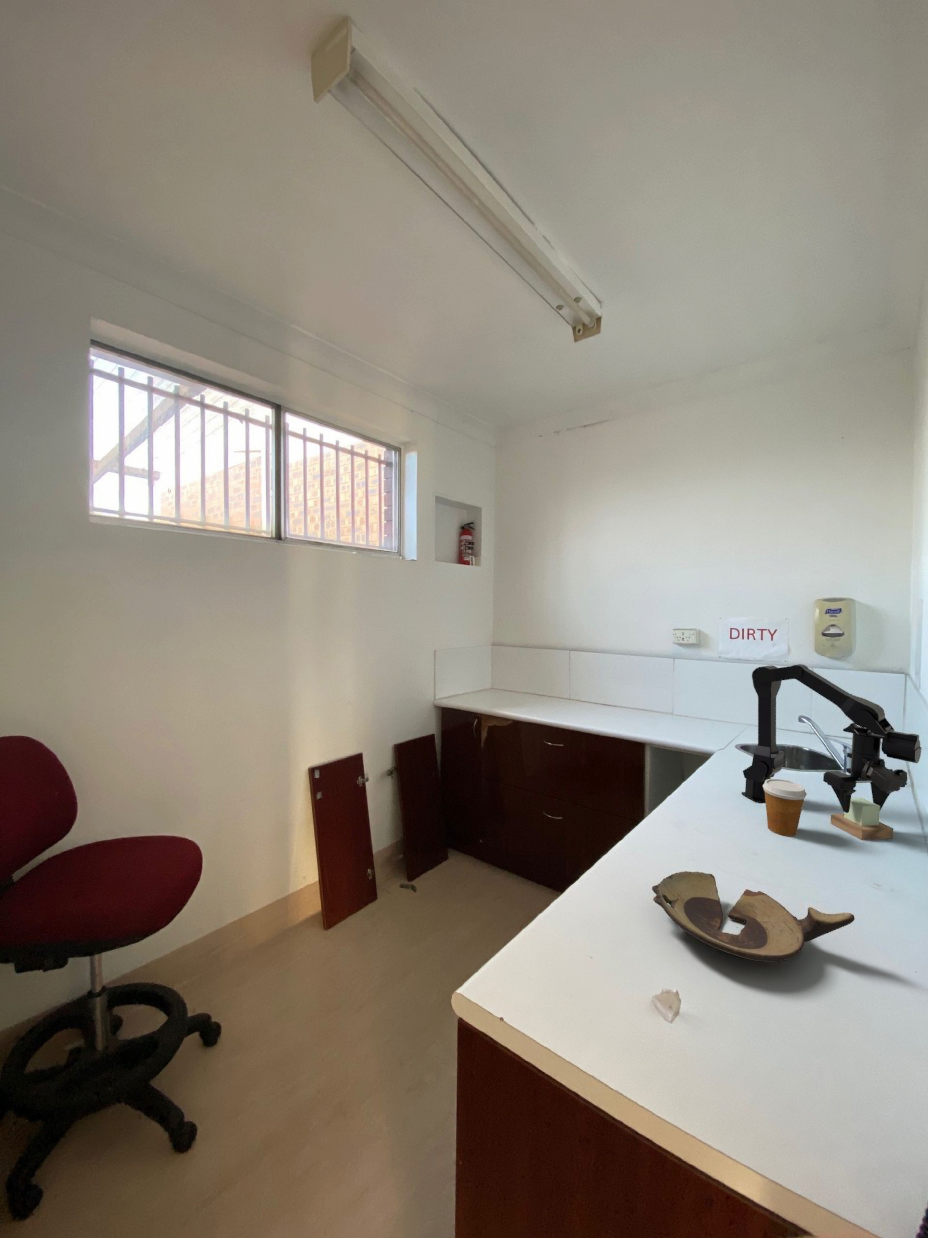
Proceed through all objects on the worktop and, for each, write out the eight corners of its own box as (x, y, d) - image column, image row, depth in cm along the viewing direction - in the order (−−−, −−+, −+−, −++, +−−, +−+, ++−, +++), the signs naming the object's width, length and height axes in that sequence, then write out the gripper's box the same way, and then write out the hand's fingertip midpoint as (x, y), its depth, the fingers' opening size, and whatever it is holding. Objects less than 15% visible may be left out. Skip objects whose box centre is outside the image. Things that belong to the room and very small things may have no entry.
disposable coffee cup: (761, 833, 128) (764, 787, 128) (759, 819, 137) (762, 775, 136) (806, 843, 124) (809, 795, 123) (801, 827, 132) (804, 782, 132)
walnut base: (861, 839, 126) (862, 830, 126) (830, 823, 135) (830, 814, 135) (892, 838, 127) (893, 828, 127) (860, 822, 136) (860, 813, 136)
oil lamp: (672, 881, 106) (673, 845, 106) (852, 945, 88) (855, 902, 87) (634, 936, 89) (636, 894, 88) (849, 1031, 70) (853, 977, 70)
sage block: (861, 825, 128) (862, 806, 128) (844, 817, 133) (845, 798, 133) (878, 825, 129) (880, 805, 129) (860, 816, 134) (862, 798, 134)
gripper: (862, 763, 121) (858, 827, 122) (929, 761, 124) (925, 824, 124) (823, 749, 132) (819, 808, 133) (885, 747, 135) (881, 805, 135)
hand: (861, 811), depth 131 cm, fingers open, 9 cm apart
